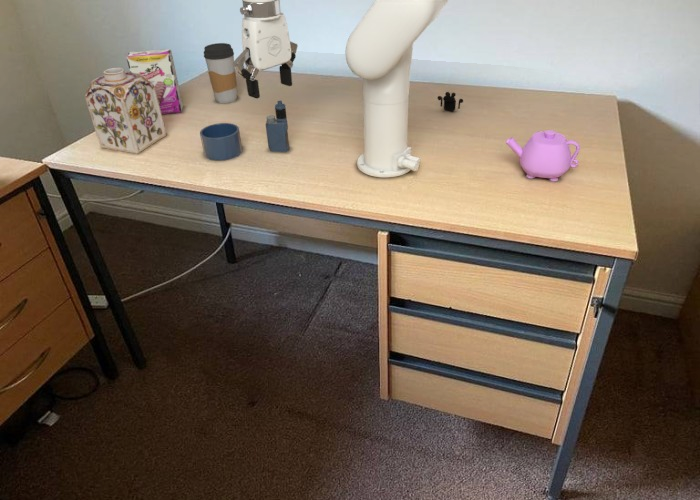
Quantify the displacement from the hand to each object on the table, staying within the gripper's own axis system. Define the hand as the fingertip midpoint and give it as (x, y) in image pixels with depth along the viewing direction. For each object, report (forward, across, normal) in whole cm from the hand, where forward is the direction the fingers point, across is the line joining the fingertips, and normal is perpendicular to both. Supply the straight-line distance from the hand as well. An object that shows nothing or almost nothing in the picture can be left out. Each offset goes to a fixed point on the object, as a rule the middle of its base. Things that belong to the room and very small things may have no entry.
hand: (270, 90), depth 121 cm
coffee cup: (+15, +14, +37) cm, 43 cm away
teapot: (+13, +26, -54) cm, 61 cm away
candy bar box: (+15, -3, +44) cm, 47 cm away
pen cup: (+15, -9, +9) cm, 19 cm away
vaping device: (+14, 0, -1) cm, 15 cm away
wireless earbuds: (+14, +44, -20) cm, 50 cm away
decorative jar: (+15, -19, +32) cm, 40 cm away
